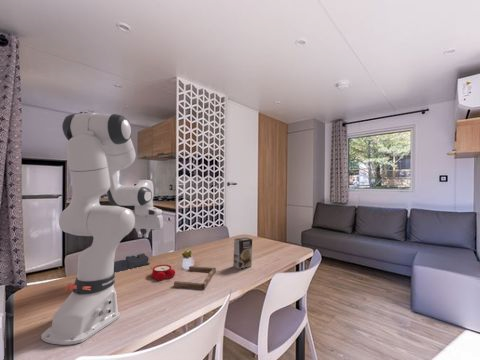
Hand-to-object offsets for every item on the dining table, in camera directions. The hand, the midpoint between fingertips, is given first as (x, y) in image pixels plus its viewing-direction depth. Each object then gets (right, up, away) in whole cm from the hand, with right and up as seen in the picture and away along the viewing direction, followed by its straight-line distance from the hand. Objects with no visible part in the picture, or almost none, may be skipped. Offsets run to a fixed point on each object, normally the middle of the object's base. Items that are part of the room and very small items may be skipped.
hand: (143, 237), depth 122 cm
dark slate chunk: (-14, -20, +13) cm, 27 cm away
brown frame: (+28, -20, -4) cm, 34 cm away
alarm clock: (+11, -20, -2) cm, 23 cm away
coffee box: (+52, -21, +15) cm, 58 cm away
